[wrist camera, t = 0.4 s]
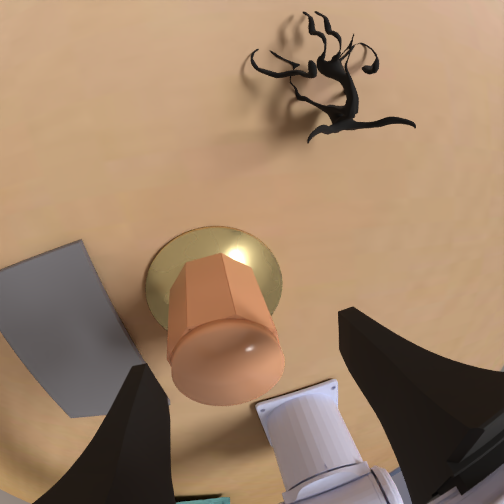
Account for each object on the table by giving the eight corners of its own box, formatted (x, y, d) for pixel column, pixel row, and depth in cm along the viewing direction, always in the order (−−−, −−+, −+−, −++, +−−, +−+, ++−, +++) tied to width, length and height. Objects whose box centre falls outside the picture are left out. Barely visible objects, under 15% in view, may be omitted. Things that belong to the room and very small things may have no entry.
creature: (237, 29, 15) (269, 154, 17) (249, -19, 9) (297, 144, 11) (355, 23, 15) (388, 134, 17) (396, -12, 10) (443, 125, 12)
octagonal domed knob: (262, 313, 22) (291, 389, 15) (188, 333, 21) (193, 414, 15) (246, 245, 19) (275, 315, 13) (161, 269, 19) (153, 347, 12)
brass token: (289, 322, 23) (290, 324, 22) (173, 353, 22) (173, 356, 22) (268, 209, 19) (269, 210, 18) (125, 249, 18) (124, 251, 18)
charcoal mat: (170, 400, 24) (170, 405, 24) (71, 414, 24) (70, 418, 23) (81, 239, 17) (79, 242, 17) (-26, 280, 16) (-28, 283, 16)
